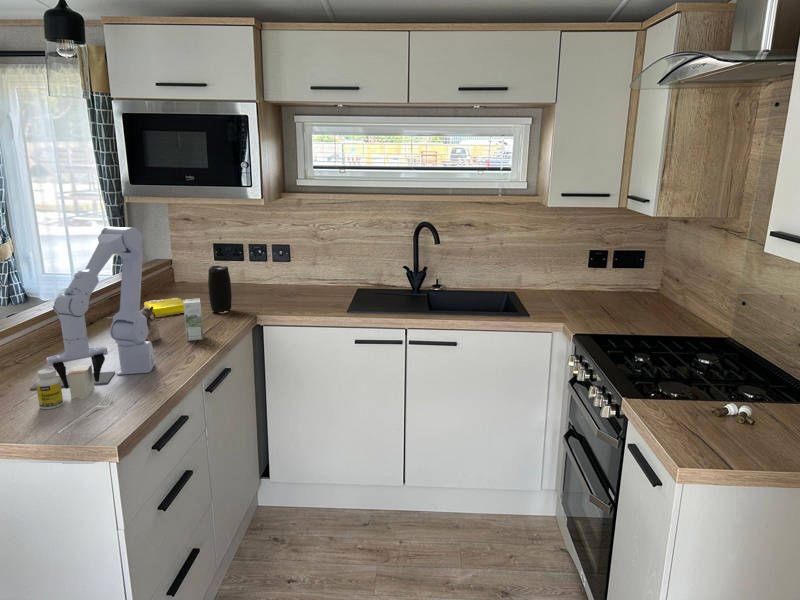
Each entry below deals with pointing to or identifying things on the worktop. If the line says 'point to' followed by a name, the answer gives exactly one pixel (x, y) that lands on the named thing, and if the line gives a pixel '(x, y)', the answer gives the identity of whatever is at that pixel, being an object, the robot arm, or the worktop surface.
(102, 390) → the worktop surface
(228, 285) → the portable speaker
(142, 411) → the worktop surface
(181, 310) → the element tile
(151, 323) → the figurine
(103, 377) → the rubber mat
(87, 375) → the card box
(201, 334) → the syrup box
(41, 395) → the supplement bottle
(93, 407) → the fork
